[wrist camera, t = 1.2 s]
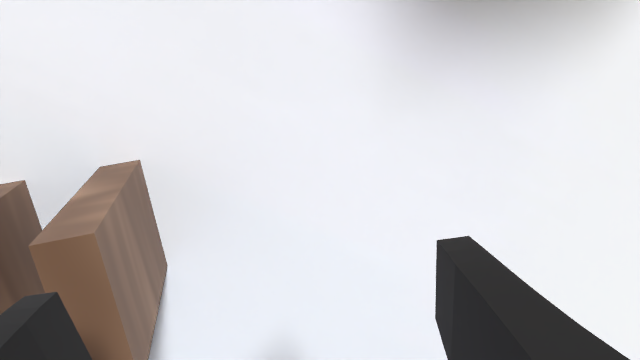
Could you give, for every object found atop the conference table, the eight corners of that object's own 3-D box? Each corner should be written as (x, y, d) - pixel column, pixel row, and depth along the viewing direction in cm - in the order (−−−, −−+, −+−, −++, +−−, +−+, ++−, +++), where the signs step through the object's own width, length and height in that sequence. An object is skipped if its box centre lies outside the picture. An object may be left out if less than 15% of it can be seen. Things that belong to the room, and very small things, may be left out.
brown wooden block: (139, 160, 20) (94, 233, 12) (167, 265, 21) (141, 388, 14) (99, 167, 19) (28, 246, 12) (130, 273, 21) (84, 402, 13)
